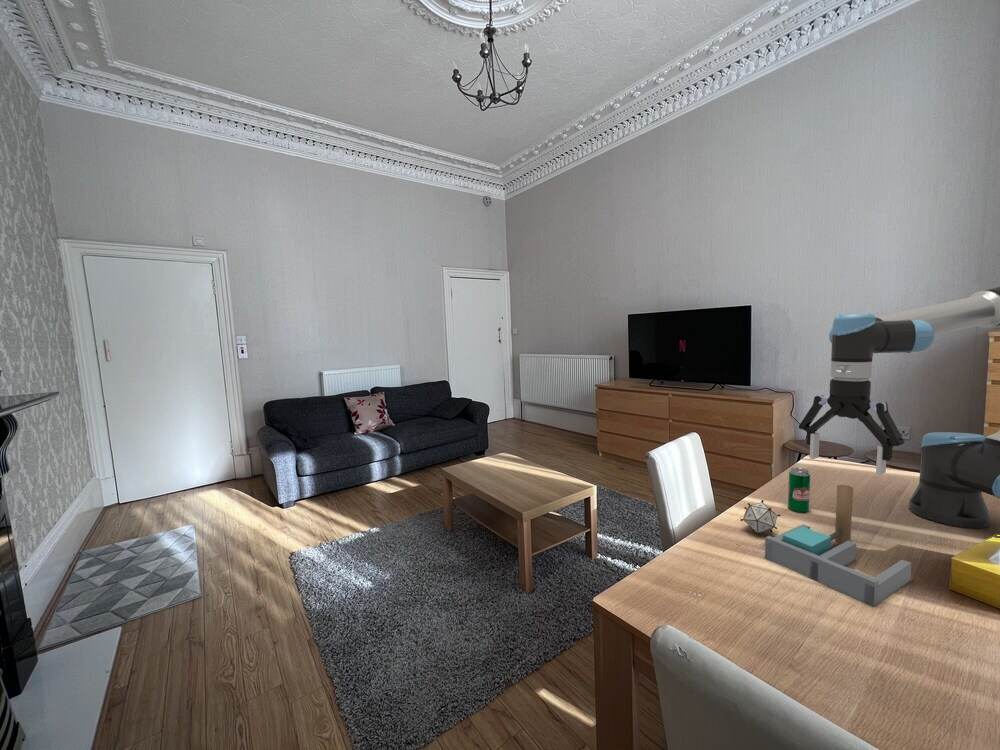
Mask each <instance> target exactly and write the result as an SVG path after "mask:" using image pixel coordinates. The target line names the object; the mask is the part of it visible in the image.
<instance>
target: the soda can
mask: <svg viewBox="0 0 1000 750" xmlns="http://www.w3.org/2000/svg"><path fill="white" fill-rule="evenodd" d="M787 489H788V491H787V495H788V496H787V507H788V508H789V510H792V511H793V512H795V513H807V512H808V511H809V510H810V499H811V498H810V492H811V473H810V472H809V469H806V468H804V467H791V468H790V470H789V471H788V488H787Z"/></svg>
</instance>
